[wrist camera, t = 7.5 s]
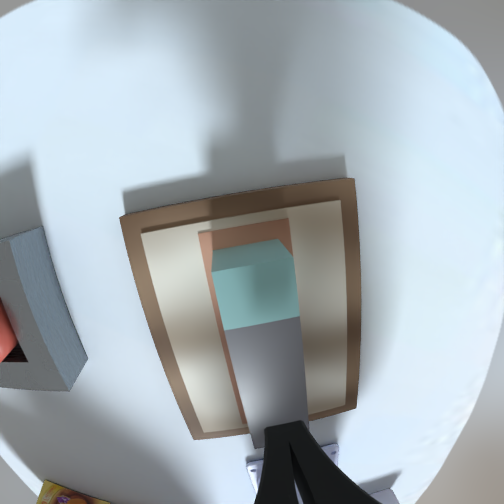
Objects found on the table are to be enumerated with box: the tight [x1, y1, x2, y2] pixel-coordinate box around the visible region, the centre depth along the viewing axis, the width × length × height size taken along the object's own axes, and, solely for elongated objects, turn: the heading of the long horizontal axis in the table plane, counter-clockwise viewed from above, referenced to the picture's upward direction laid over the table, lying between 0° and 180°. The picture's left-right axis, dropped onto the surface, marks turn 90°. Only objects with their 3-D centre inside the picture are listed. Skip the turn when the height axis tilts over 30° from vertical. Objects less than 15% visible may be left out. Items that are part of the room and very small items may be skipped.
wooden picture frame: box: [119, 178, 361, 440], centre depth 17 cm, size 16×12×1 cm
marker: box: [211, 239, 309, 449], centre depth 15 cm, size 12×3×3 cm, turn 9°
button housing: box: [0, 226, 88, 391], centre depth 14 cm, size 9×9×4 cm
